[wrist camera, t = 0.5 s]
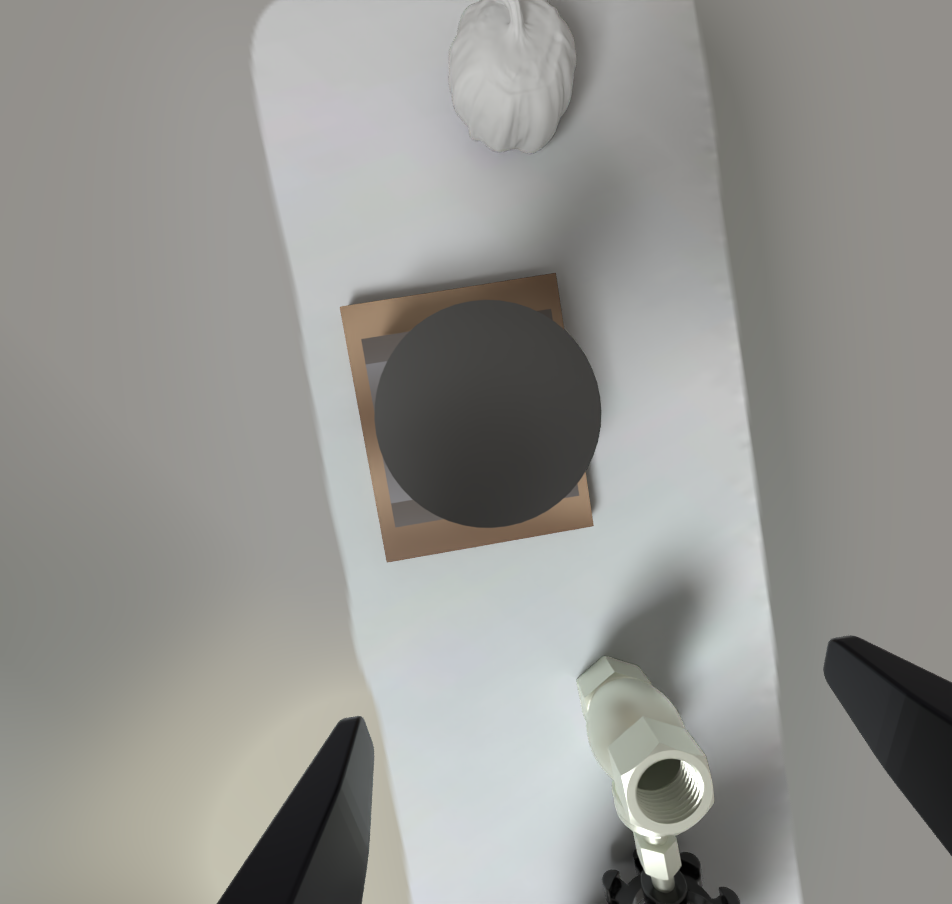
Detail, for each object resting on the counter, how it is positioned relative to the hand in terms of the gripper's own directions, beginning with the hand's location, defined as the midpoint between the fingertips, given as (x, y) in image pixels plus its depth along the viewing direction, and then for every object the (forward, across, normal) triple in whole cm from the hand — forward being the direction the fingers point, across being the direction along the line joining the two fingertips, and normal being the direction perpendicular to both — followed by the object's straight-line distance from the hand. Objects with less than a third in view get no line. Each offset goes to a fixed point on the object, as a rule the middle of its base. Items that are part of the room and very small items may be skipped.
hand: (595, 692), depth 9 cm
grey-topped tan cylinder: (+14, +2, -1) cm, 14 cm away
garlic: (+20, -2, -14) cm, 24 cm away
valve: (+10, -3, +17) cm, 20 cm away
